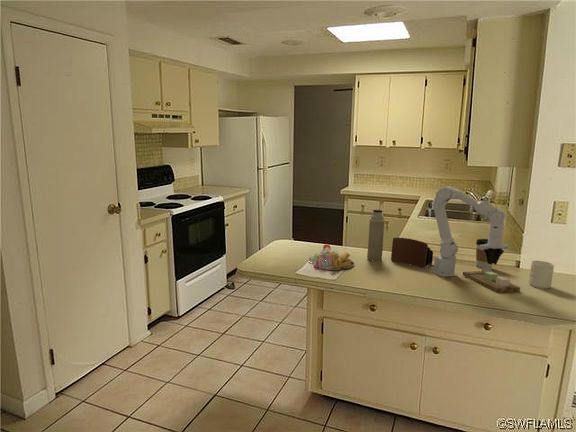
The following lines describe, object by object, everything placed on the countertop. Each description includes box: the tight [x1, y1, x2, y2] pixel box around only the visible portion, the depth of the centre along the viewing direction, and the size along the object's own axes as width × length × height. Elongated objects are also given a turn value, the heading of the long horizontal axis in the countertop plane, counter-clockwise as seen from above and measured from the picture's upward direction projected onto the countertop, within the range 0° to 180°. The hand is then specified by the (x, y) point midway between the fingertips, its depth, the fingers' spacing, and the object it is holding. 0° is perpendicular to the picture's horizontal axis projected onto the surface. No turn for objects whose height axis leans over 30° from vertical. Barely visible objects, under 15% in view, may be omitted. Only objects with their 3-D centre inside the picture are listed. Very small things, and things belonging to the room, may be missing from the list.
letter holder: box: [390, 237, 434, 269], centre depth 219 cm, size 10×20×14 cm, turn 49°
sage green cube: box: [484, 271, 498, 281], centre depth 188 cm, size 4×4×4 cm
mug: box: [528, 260, 555, 290], centre depth 187 cm, size 12×9×11 cm
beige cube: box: [495, 276, 511, 287], centre depth 180 cm, size 4×4×4 cm
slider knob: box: [480, 264, 493, 273], centre depth 196 cm, size 3×4×4 cm
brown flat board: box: [462, 270, 521, 294], centre depth 188 cm, size 12×24×2 cm, turn 12°
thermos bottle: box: [366, 209, 386, 262], centre depth 221 cm, size 8×8×28 cm
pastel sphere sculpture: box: [308, 243, 355, 271], centre depth 211 cm, size 25×24×9 cm
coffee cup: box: [475, 238, 488, 268], centre depth 214 cm, size 8×8×15 cm
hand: (492, 264), depth 187 cm, fingers closed
